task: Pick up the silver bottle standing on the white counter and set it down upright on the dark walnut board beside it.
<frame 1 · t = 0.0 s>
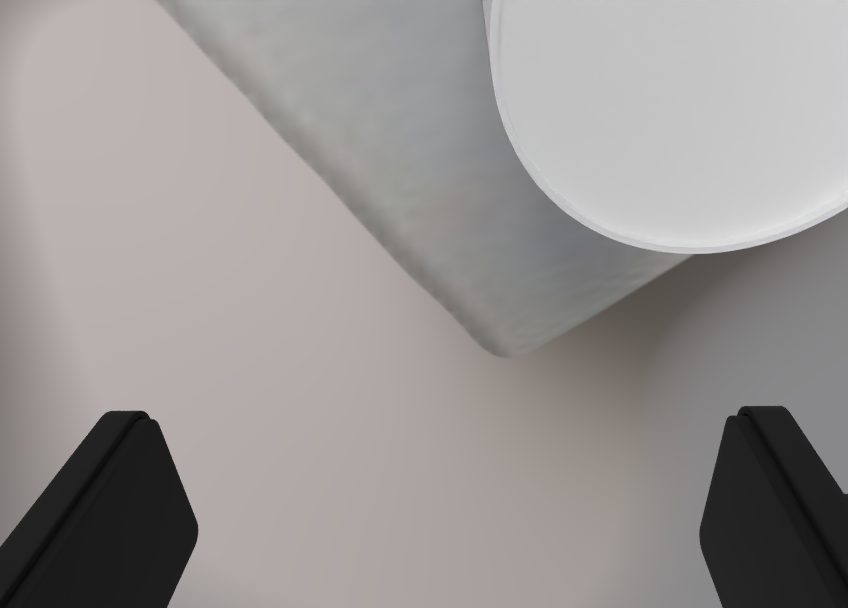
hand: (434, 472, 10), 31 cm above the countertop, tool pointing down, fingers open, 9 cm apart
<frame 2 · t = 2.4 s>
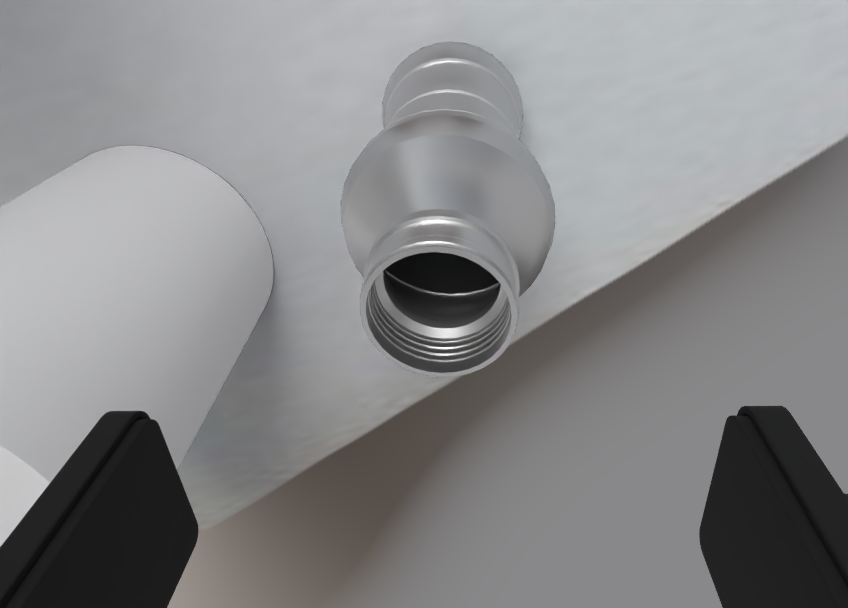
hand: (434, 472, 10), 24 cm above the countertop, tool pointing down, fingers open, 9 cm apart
canister: (163, 254, 37), on the countertop
silver bottle: (453, 102, 31), on the countertop
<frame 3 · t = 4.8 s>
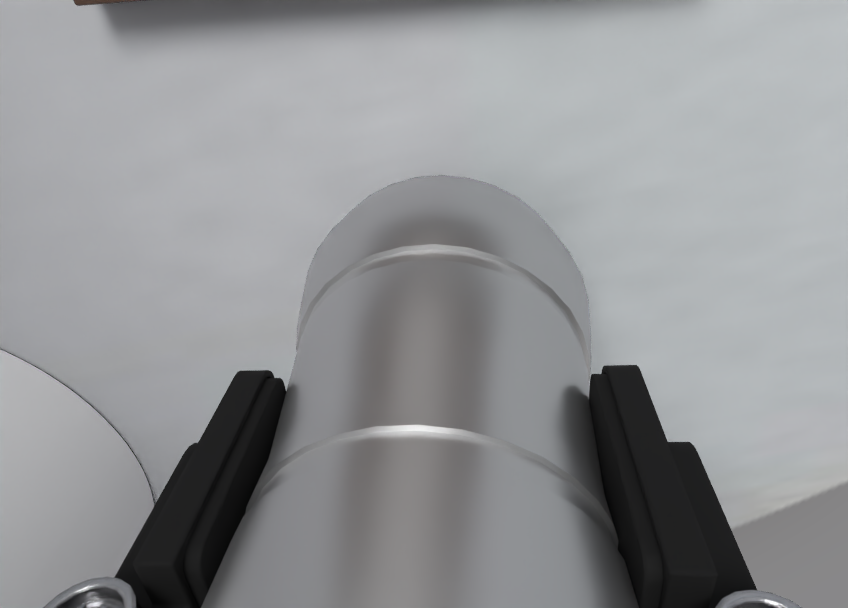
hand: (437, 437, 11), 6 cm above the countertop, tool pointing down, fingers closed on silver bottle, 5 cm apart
silver bottle: (449, 265, 17), on the countertop, touching gripper
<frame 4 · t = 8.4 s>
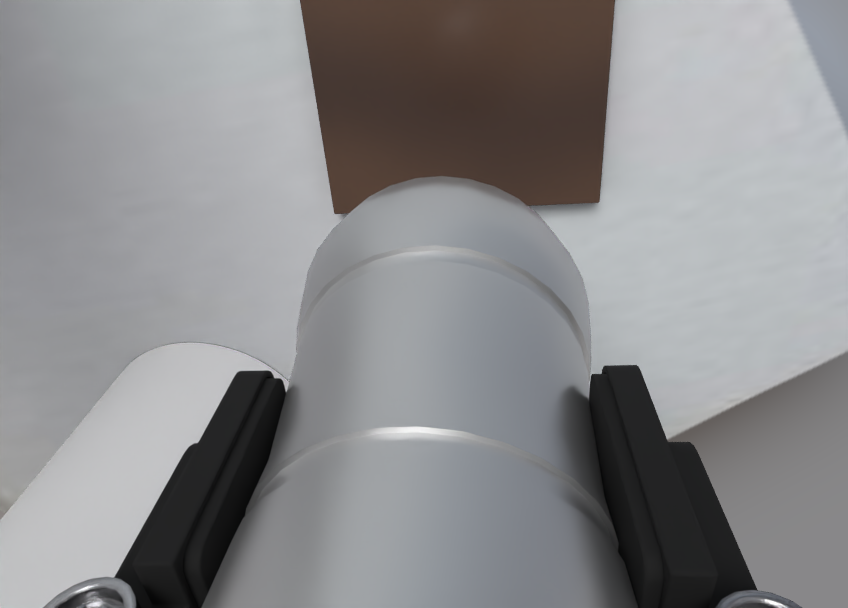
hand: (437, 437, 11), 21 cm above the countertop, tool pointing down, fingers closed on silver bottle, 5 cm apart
canister: (216, 425, 40), on the countertop
walnut board: (459, 99, 28), on the countertop
silver bottle: (449, 266, 17), point 14 cm above the countertop, touching gripper
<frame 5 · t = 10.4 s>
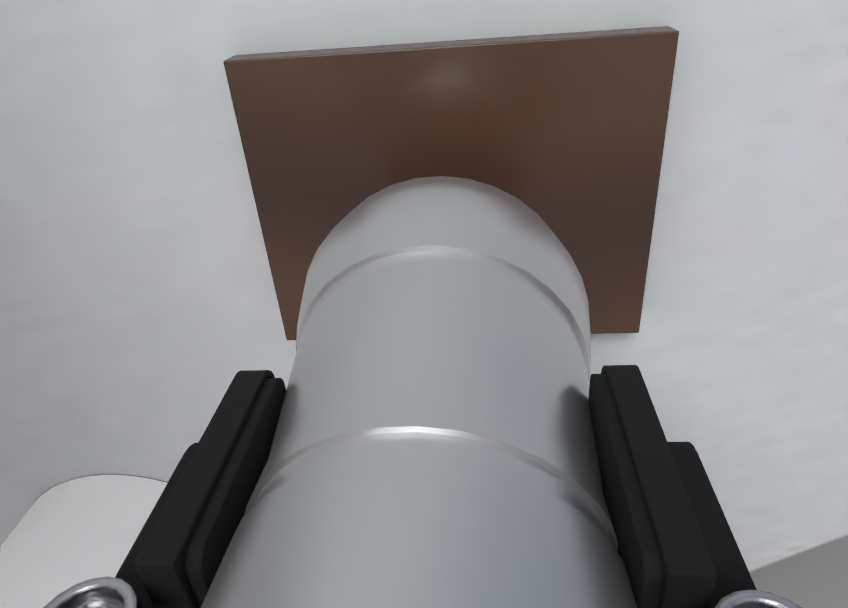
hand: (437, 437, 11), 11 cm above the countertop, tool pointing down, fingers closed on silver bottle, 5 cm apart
canister: (154, 560, 33), on the countertop
walnut board: (452, 199, 21), on the countertop
silver bottle: (449, 265, 17), point 5 cm above the countertop, touching gripper
when the fingers open (7 cm above the countertop, at t = 11.9 s): silver bottle stays where it is, resting on walnut board.
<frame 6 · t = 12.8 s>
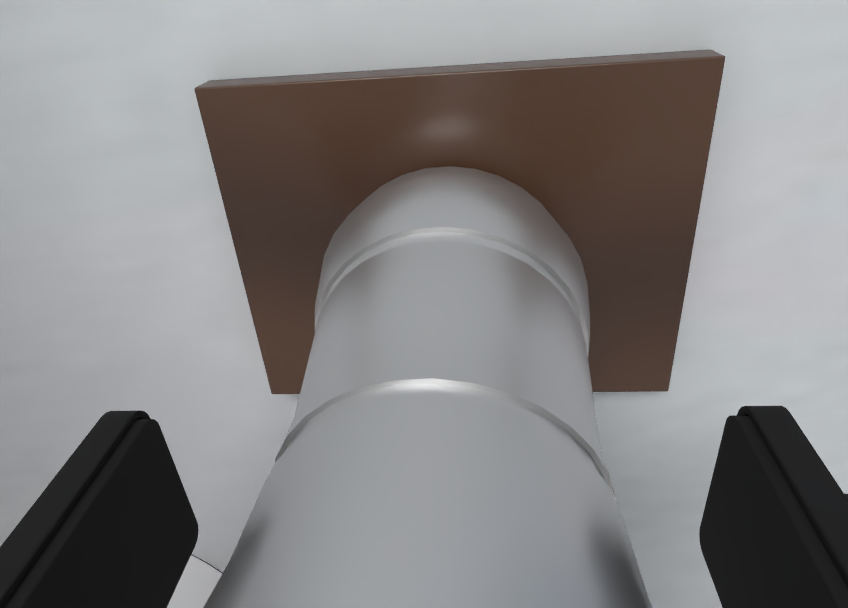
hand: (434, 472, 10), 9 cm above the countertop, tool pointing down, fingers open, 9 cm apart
walnut board: (457, 241, 18), on the countertop
silver bottle: (456, 253, 17), point 1 cm above the countertop, touching walnut board
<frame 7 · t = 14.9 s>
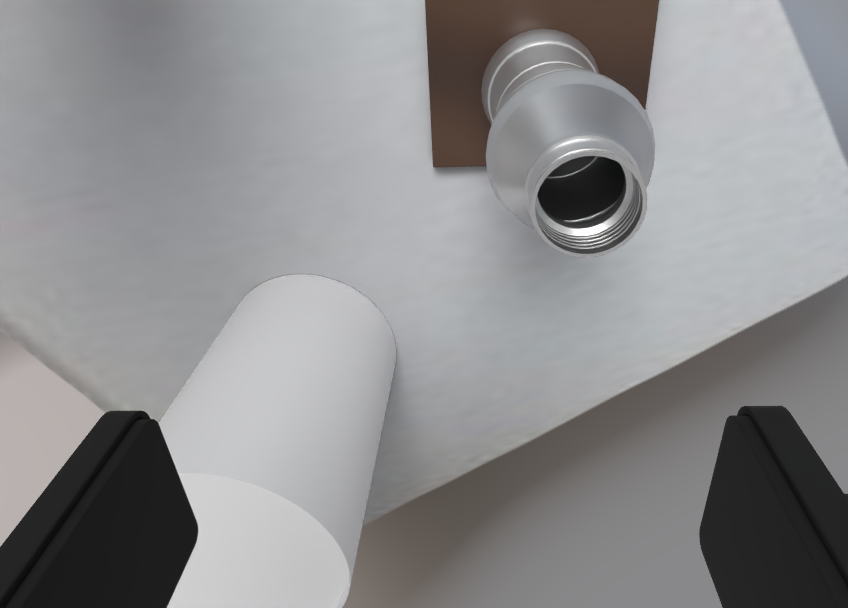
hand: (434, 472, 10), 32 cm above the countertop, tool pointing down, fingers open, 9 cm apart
canister: (313, 347, 49), on the countertop
walnut board: (536, 80, 37), on the countertop
silver bottle: (536, 82, 36), point 1 cm above the countertop, touching walnut board
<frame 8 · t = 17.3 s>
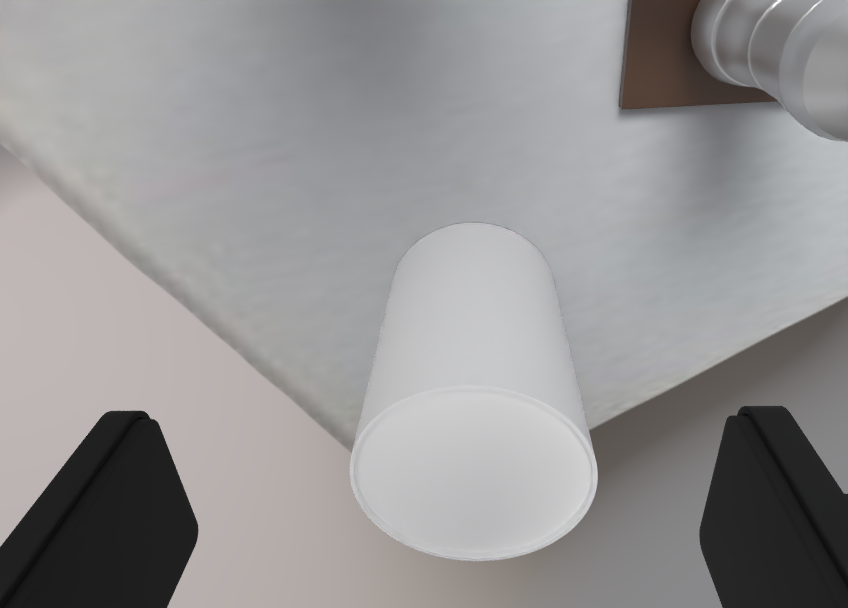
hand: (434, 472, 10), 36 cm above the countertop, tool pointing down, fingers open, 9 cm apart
canister: (472, 296, 51), on the countertop
walnut board: (730, 19, 38), on the countertop
silver bottle: (735, 21, 38), point 1 cm above the countertop, touching walnut board
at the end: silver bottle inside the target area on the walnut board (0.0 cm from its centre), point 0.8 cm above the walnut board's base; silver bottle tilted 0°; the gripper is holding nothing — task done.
